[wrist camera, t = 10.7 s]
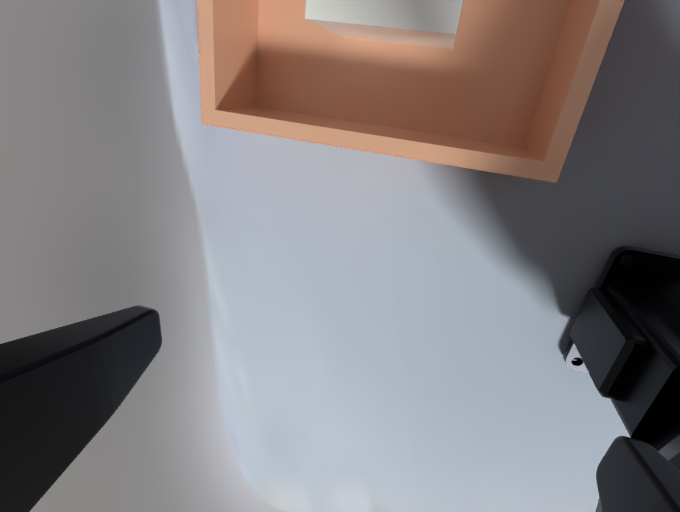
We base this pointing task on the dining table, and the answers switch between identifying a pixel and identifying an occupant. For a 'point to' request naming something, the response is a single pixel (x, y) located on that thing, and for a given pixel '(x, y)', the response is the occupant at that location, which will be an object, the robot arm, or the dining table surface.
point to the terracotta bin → (410, 82)
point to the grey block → (390, 20)
